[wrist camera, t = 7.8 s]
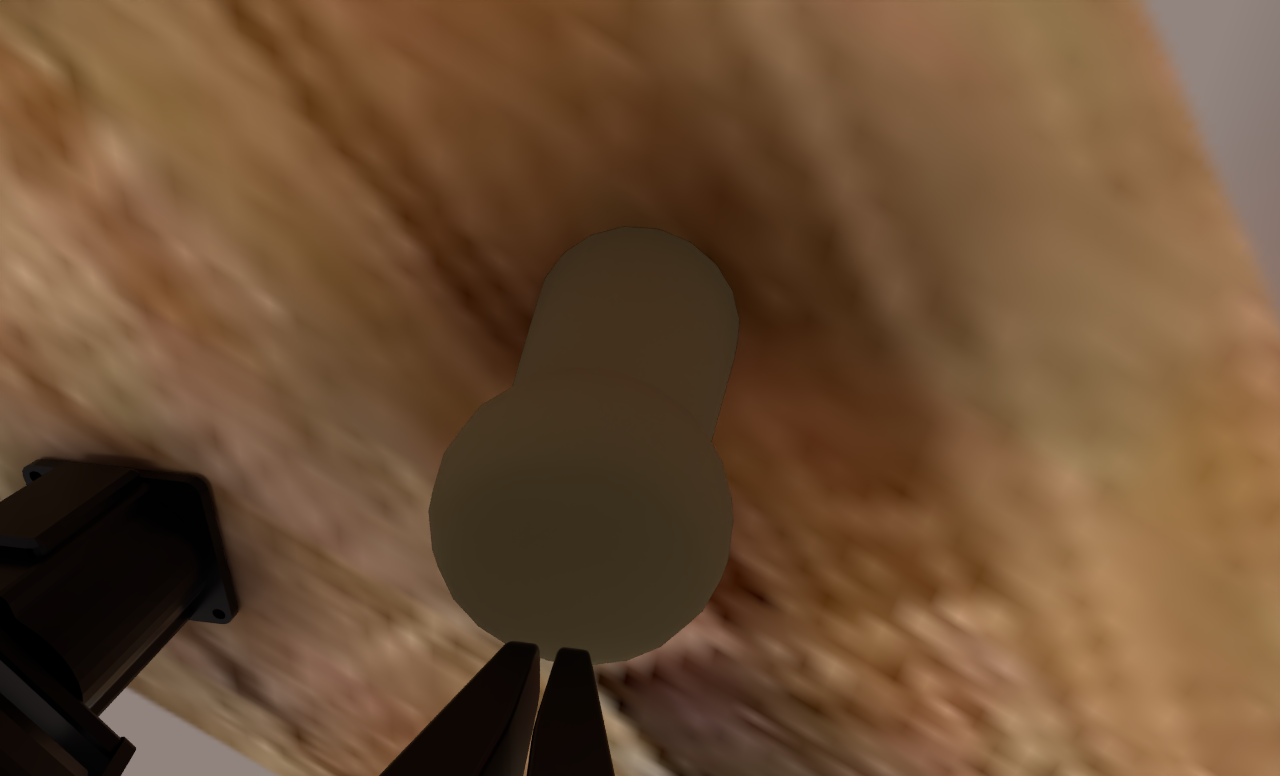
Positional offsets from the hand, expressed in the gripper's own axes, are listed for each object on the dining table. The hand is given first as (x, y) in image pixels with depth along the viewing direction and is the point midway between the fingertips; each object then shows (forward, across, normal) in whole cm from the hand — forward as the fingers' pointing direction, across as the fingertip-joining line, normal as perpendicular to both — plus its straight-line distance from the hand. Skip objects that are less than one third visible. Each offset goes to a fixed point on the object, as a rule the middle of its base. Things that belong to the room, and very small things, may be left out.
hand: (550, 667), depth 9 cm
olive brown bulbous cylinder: (+13, 0, 0) cm, 13 cm away
